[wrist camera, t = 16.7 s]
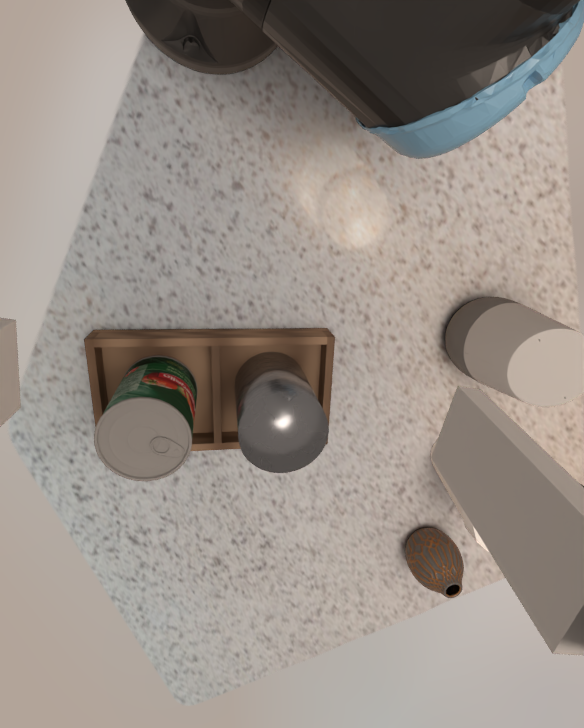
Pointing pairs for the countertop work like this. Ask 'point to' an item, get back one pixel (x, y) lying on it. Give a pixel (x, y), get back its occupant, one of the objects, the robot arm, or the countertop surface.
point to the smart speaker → (517, 351)
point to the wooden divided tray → (208, 368)
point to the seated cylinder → (278, 414)
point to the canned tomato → (149, 420)
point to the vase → (435, 561)
